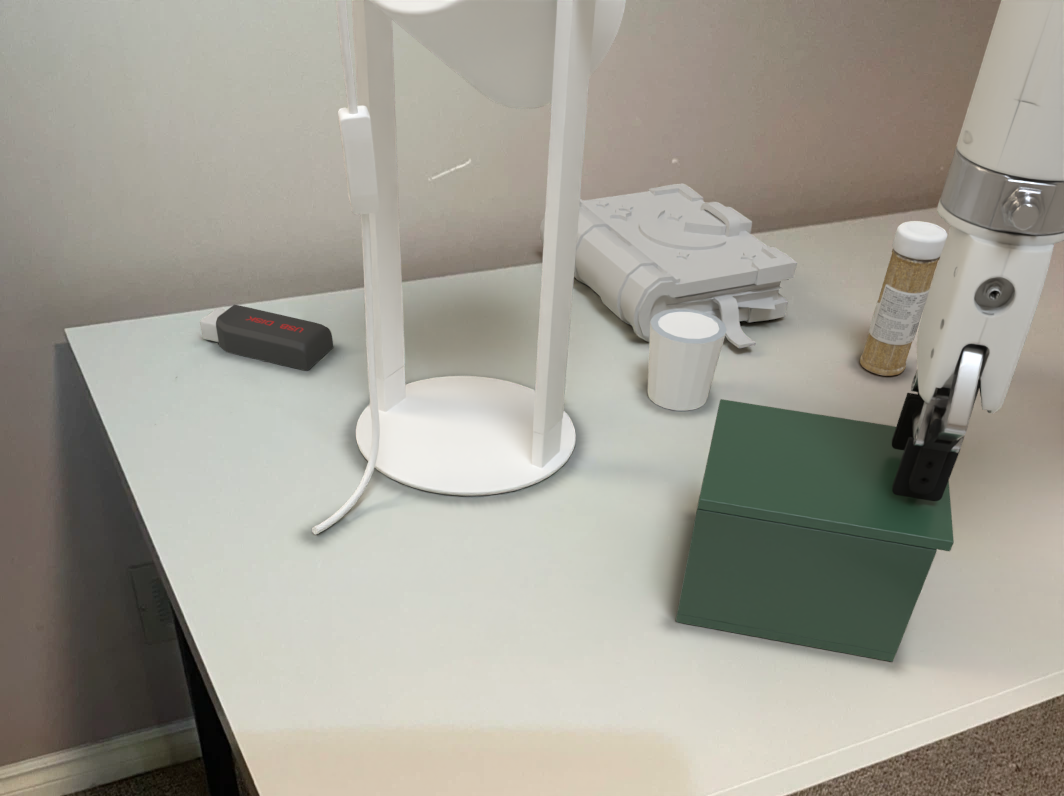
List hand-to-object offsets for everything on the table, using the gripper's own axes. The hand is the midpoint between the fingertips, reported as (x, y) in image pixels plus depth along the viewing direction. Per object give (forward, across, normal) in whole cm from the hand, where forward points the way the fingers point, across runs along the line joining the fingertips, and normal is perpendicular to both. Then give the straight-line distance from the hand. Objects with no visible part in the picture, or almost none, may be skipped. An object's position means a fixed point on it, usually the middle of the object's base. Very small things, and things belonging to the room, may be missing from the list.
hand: (915, 469), depth 73 cm
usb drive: (+12, +23, +58) cm, 64 cm away
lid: (+1, 0, +6) cm, 6 cm away
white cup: (+12, +26, +18) cm, 34 cm away
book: (+12, +47, +22) cm, 53 cm away
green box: (+11, 0, +6) cm, 13 cm away
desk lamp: (+12, +10, +36) cm, 39 cm away
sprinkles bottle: (+12, +38, -1) cm, 40 cm away
